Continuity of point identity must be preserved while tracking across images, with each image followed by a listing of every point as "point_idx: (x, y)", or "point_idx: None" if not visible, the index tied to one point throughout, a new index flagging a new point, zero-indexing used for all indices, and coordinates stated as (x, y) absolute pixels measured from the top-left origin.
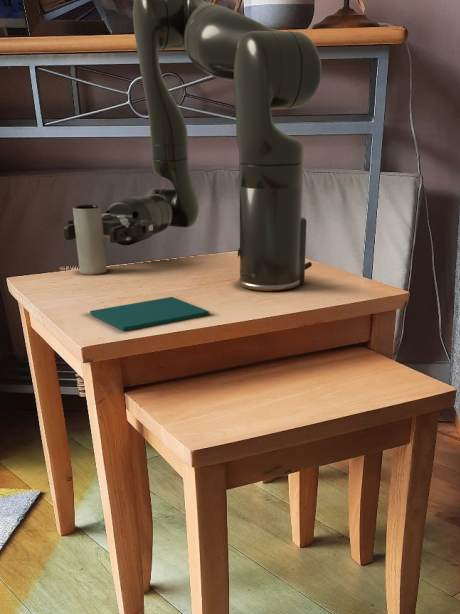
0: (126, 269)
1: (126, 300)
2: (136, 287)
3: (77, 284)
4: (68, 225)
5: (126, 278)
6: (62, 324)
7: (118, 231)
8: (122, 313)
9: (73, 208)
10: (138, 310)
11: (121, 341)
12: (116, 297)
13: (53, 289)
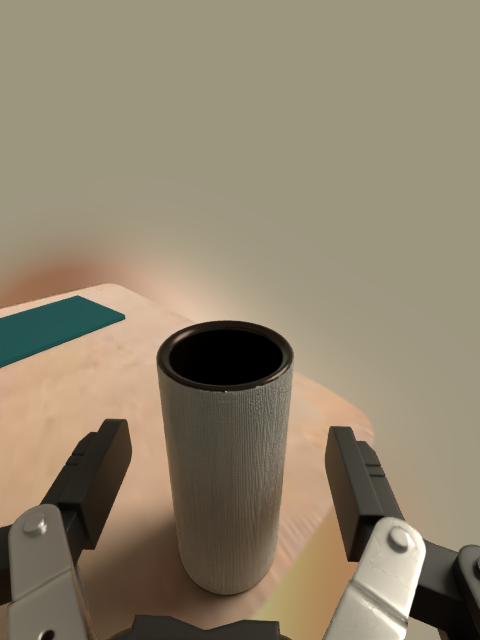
0: (104, 636)
1: (80, 358)
2: (60, 419)
3: None
4: (346, 439)
5: None
6: (148, 301)
7: (87, 436)
8: (81, 314)
9: (266, 328)
10: (59, 322)
11: (79, 288)
12: (100, 366)
13: None
